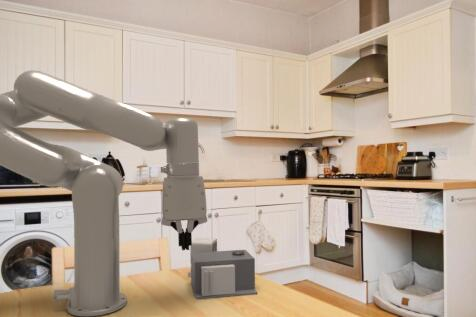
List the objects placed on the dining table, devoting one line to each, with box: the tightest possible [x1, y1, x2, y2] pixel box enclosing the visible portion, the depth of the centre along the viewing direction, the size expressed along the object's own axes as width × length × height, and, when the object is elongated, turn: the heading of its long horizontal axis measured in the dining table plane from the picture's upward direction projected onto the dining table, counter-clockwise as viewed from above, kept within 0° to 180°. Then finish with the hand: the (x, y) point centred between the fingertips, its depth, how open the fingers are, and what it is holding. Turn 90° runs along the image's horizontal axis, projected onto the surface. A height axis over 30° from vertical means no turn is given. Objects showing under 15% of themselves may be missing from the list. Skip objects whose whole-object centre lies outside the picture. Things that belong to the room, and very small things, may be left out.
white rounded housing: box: [187, 237, 218, 278], centre depth 107 cm, size 6×7×10 cm
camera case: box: [190, 249, 258, 300], centre depth 95 cm, size 15×12×9 cm
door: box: [201, 264, 235, 296], centre depth 90 cm, size 8×2×6 cm, turn 102°
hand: (185, 248), depth 88 cm, fingers closed
